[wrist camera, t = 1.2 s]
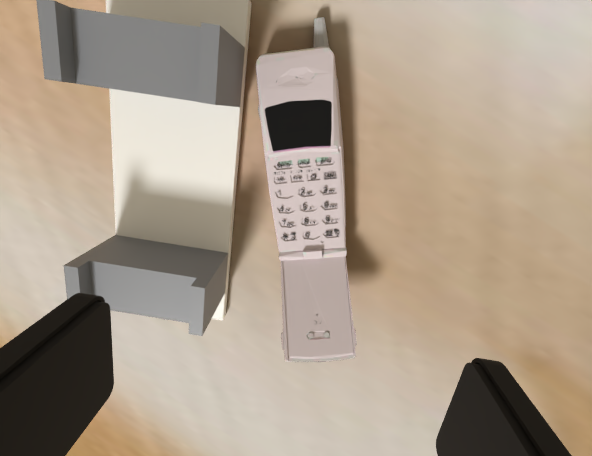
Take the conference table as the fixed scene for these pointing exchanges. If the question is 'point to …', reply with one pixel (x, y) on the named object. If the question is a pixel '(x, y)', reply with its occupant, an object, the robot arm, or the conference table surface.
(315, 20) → the mobile phone
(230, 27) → the cradle stand
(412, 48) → the conference table surface
